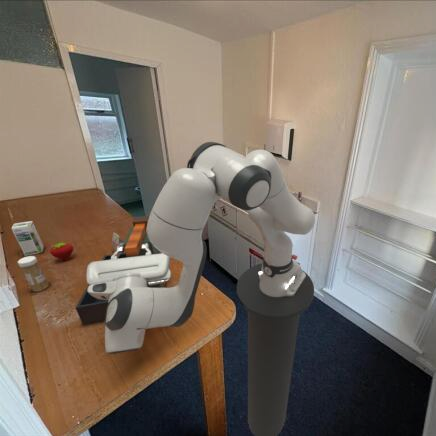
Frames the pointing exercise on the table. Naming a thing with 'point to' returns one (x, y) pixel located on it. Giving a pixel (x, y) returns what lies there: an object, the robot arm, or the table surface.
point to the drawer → (93, 304)
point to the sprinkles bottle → (33, 273)
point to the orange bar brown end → (136, 236)
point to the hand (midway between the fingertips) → (133, 245)
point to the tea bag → (116, 242)
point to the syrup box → (27, 238)
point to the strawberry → (62, 250)
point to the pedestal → (142, 253)
